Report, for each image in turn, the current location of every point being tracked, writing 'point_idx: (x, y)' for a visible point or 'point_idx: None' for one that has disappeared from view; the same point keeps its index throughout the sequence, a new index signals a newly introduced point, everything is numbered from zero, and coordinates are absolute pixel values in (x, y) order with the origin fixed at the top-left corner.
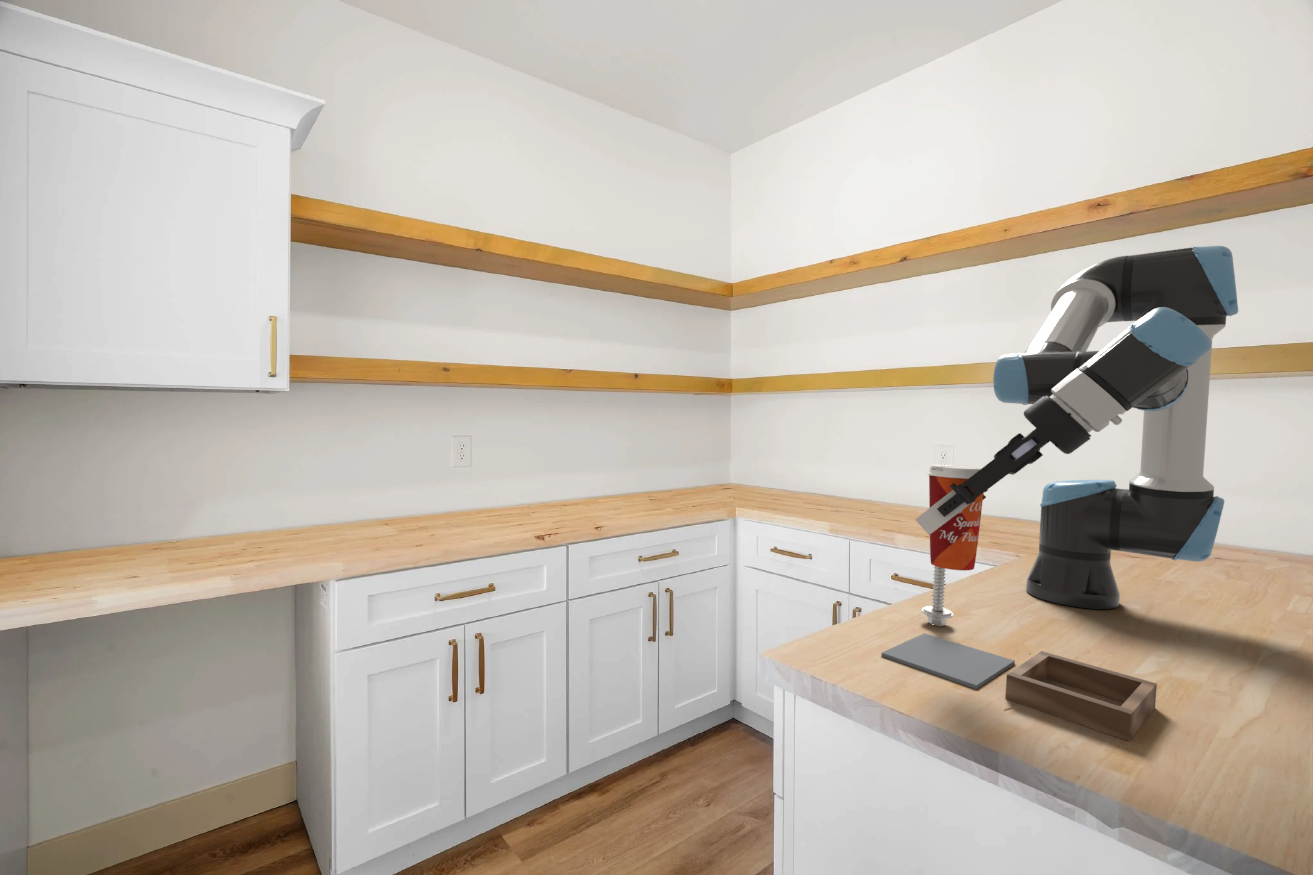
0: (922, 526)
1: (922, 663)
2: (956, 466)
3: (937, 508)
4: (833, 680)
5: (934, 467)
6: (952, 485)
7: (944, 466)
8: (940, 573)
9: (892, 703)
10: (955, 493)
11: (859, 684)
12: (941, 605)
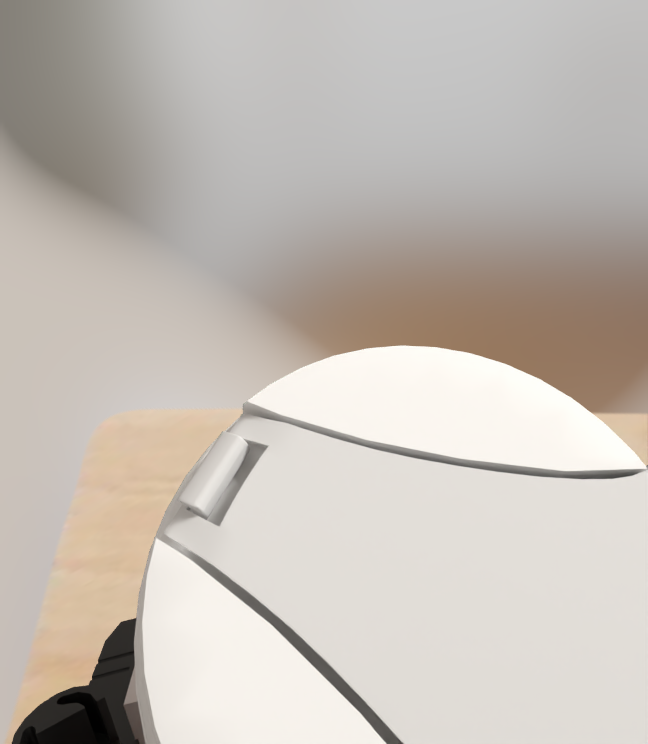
0: None
1: None
2: (431, 561)
3: (118, 627)
4: (69, 553)
5: (236, 427)
6: (25, 732)
7: (265, 498)
8: None
9: (33, 699)
10: (131, 728)
11: (83, 599)
12: None
